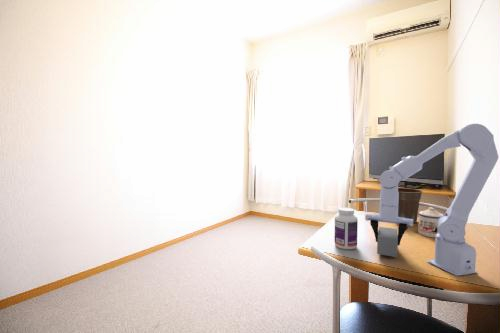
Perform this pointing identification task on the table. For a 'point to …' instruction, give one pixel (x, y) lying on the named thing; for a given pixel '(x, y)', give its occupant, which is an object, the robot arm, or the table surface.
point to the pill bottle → (346, 229)
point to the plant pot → (409, 203)
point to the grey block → (387, 241)
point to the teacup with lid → (429, 222)
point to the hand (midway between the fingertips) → (387, 242)
